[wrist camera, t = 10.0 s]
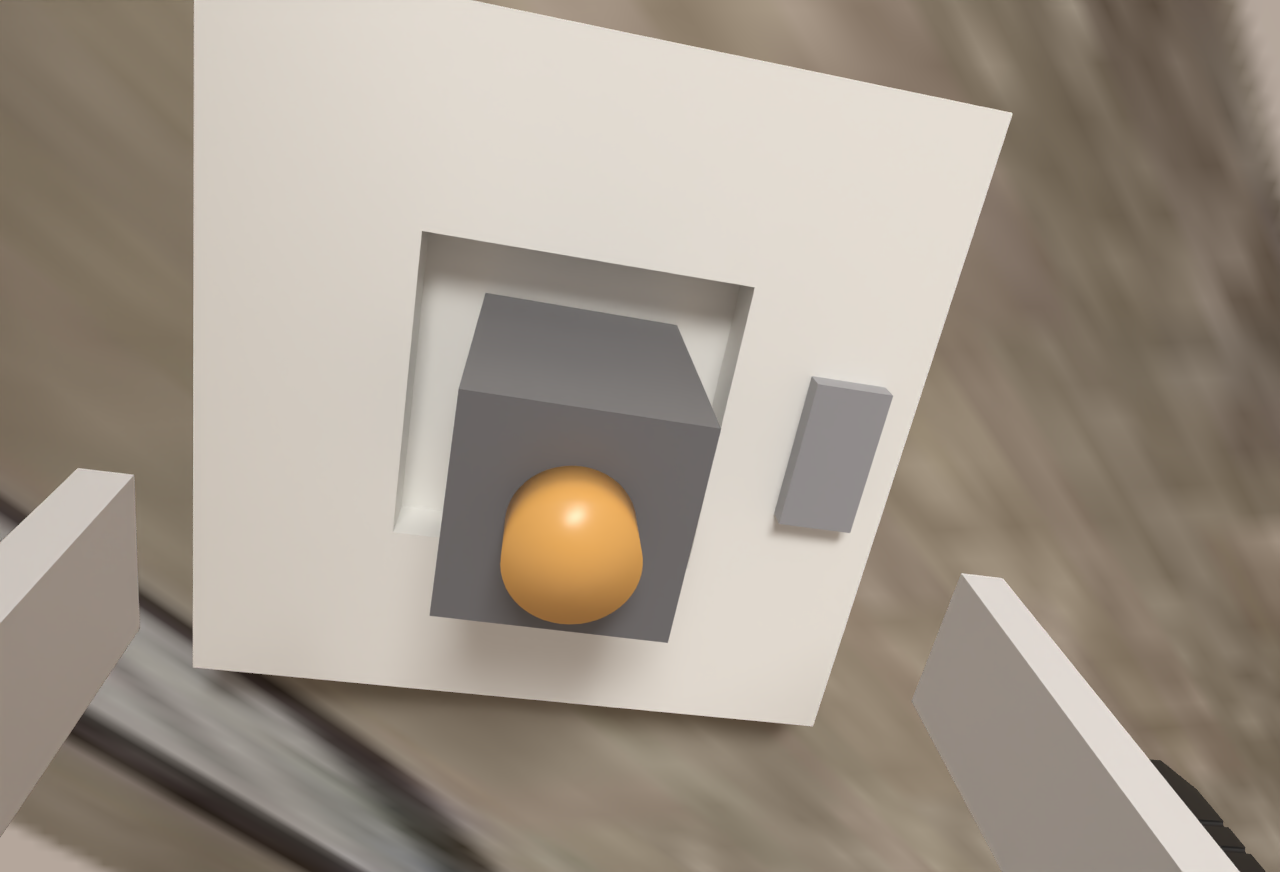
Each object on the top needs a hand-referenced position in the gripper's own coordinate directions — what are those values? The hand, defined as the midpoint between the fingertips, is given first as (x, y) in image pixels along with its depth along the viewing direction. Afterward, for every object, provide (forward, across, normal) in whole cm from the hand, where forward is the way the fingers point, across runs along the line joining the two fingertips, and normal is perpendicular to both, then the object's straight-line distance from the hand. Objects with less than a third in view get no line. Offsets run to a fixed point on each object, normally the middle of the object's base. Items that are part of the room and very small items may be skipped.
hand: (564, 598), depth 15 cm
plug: (+10, 0, -1) cm, 10 cm away
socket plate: (+11, 0, -1) cm, 11 cm away
